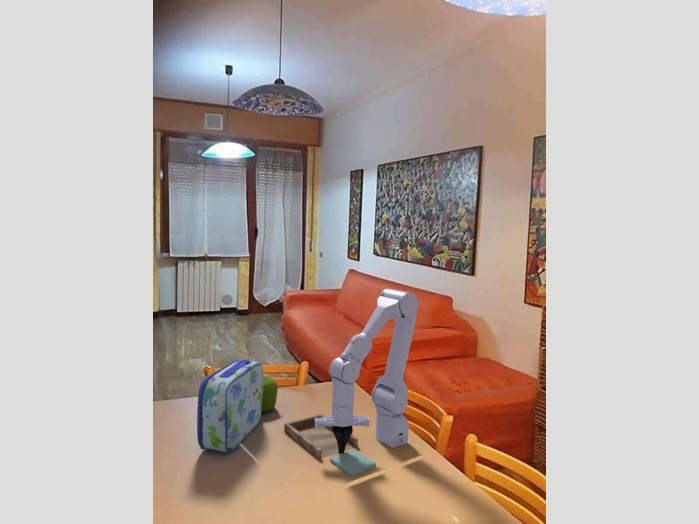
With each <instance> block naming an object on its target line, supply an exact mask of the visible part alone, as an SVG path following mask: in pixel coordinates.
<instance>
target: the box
mask: <svg viewBox="0 0 699 524" xmlns="http://www.w3.org/2000/svg"><path fill="white" fill-rule="evenodd" d="M322 417H326V416H325V414H323V413H319V414H315V415H312V416H308V417H304V418H301V419H296V420H292V421H290V422H284V424H283V425H284V427H283V428H284V429H283V431H284V432H285V433H287V434H288V436H290V437H291V438H292V439H294V440H295V441H296V442H297V443H298V444H299V445H300V446H302V447H303V448H304V449H305V450H307V451H308V452H309V453H311V455H313V456H314V457H315V458H316V459H318V460H320V459H321V458H325V457H329V456H331V455H335V454H337V453H338V454H339V452H338V444H337V440H336V438H335V435H334V433H333V430H332V427H319V428H315V418H322ZM341 428H342V427H341ZM358 445H359V438H358V437H357V436H355V435H354V434H353V433H352V434H351V436H350V438H349V440H348V442H347V444H346V447H345V451H346V450H349V449H355V448H357V447H358Z"/></svg>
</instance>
